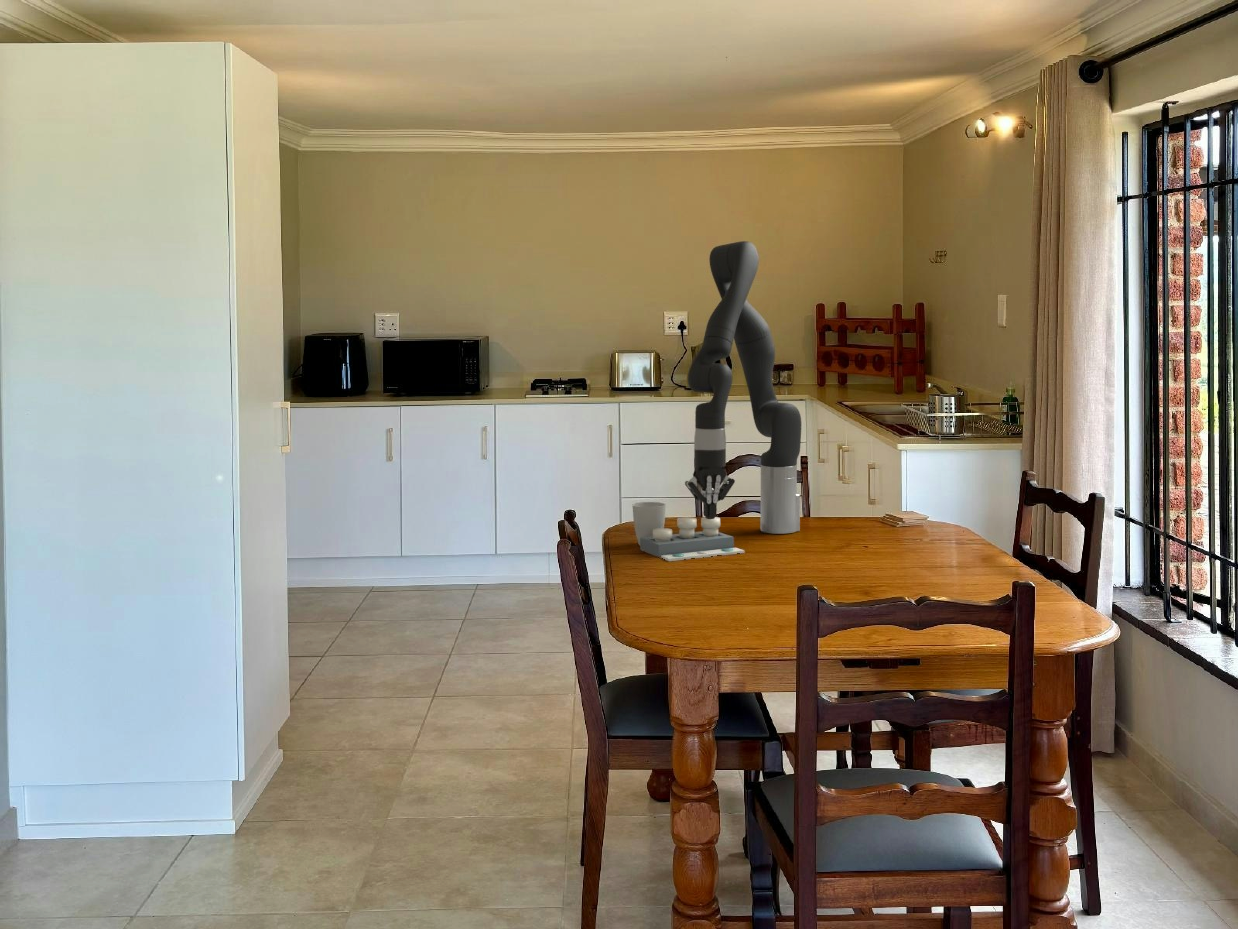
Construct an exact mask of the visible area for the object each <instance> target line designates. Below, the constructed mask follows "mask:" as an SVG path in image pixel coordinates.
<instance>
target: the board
mask: <svg viewBox="0 0 1238 929" xmlns="http://www.w3.org/2000/svg"><path fill="white" fill-rule="evenodd" d="M694 532H695V538H693V539H681V538H679V533H675V534H674V533H672V539H670V541H665V542H657V541H655V539H653V536H651V537H641V538H640V545H639V546H640V547H639V548H640V549H639V550H640V551H641V552H644V551H645V553H647V554H648V555H649V554H650V555H652V556H655V557H656V558H657V557H658V558H661V556H662V555H672V554H681V553H690V552H698V551H709V550H718V549H725V548H735V537H734V536H732V535H729V534H725V533H722V532H720V531H718V536H714V537H705V536H703V530H702V531H694Z"/></svg>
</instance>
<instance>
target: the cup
mask: <svg viewBox="0 0 1238 929" xmlns="http://www.w3.org/2000/svg"><path fill="white" fill-rule="evenodd" d="M666 508H667V507H666V503H664V502H659V501H641V502H634V503H633V504H632V516H633V517H632V518H633V525H634V531H635V536H636V539H637V543H638V545H639V546H640V538H641V537H651V536H653V529H658V528H665V522H666V521H665V520H666Z"/></svg>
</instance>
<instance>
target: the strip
mask: <svg viewBox="0 0 1238 929" xmlns="http://www.w3.org/2000/svg"><path fill="white" fill-rule="evenodd" d="M737 553H740V554H745V553H746V551H745V549H742V548H741V549H740V548H738V547H734V548H725V549H718V550H709V551H698V552H690V553H681V554H672V555H662V556H661V557H660V558H661V559H662V558H663V559H662V560H664V559H665V561H667V562H677V561H683V560H684V559H686V560H692V559H691V558H695V559H701V558H703V557H704V558H711V556H713V557H718V556H717V555H722V556H729V555H737ZM704 558H703V559H704ZM684 561H685V560H684Z"/></svg>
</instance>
